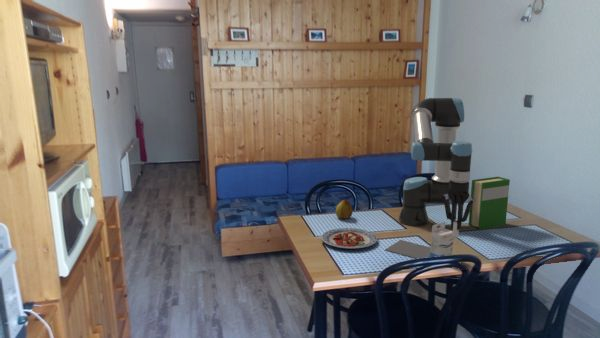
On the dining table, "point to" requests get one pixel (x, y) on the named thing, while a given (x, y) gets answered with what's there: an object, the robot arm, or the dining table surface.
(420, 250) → the mat
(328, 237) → the ceramic plate
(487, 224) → the hardback book
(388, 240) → the dining table surface
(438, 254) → the ink box
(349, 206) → the fruit
